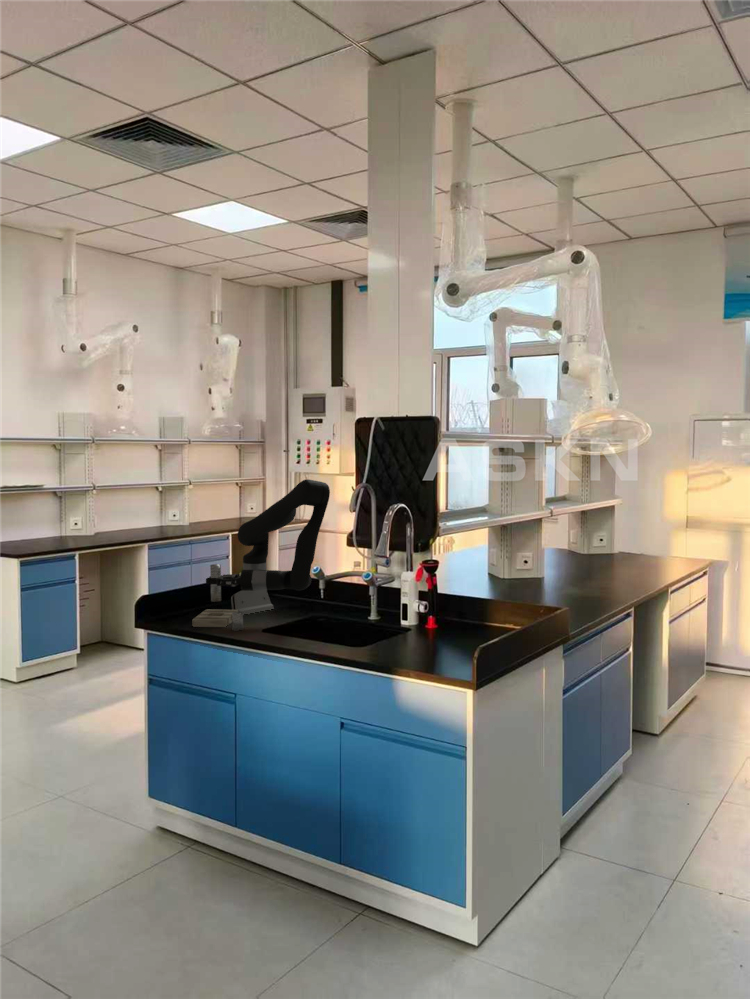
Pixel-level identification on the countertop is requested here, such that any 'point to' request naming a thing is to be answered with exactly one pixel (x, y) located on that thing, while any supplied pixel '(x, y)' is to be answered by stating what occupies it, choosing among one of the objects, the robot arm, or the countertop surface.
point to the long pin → (215, 590)
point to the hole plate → (213, 618)
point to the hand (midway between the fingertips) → (208, 580)
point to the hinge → (251, 601)
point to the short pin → (237, 621)
